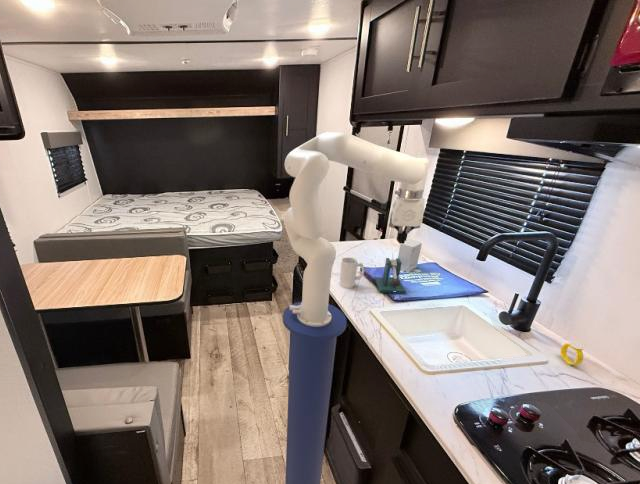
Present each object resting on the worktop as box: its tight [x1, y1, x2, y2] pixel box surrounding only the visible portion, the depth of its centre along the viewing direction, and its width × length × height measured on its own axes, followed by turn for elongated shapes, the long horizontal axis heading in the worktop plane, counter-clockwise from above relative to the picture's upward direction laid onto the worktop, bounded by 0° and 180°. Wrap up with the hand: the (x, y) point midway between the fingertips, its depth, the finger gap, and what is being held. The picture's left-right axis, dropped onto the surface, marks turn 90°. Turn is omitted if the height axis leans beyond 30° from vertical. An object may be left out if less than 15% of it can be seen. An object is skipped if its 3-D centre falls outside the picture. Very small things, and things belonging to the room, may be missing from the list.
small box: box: [397, 239, 423, 273], centre depth 150 cm, size 8×6×13 cm
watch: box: [560, 342, 584, 366], centre depth 91 cm, size 6×3×6 cm, turn 169°
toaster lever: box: [390, 259, 401, 286], centre depth 130 cm, size 12×3×3 cm
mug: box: [339, 256, 365, 289], centre depth 137 cm, size 10×7×12 cm, turn 82°
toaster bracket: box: [373, 257, 406, 295], centre depth 134 cm, size 12×10×13 cm
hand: (400, 242), depth 119 cm, fingers closed
